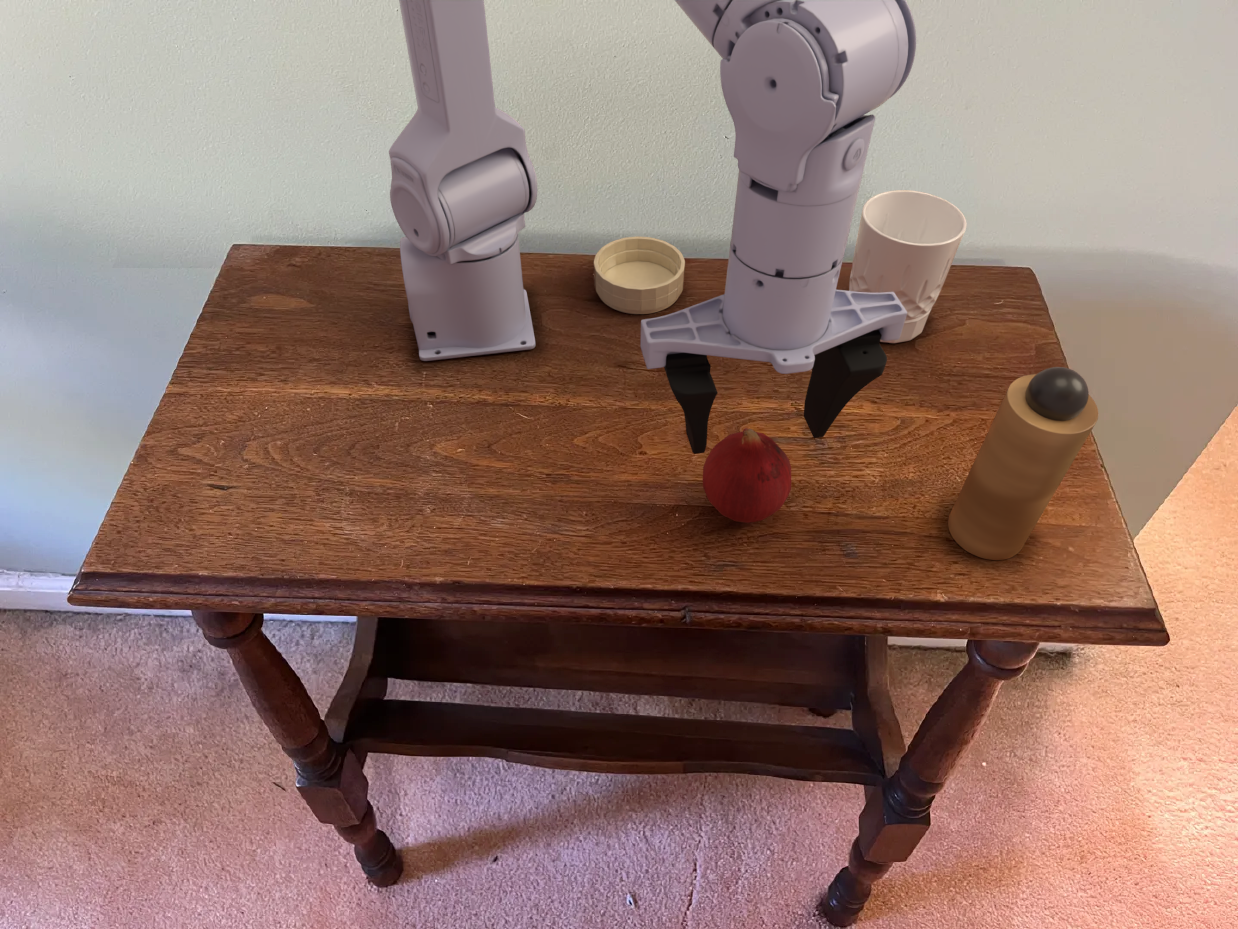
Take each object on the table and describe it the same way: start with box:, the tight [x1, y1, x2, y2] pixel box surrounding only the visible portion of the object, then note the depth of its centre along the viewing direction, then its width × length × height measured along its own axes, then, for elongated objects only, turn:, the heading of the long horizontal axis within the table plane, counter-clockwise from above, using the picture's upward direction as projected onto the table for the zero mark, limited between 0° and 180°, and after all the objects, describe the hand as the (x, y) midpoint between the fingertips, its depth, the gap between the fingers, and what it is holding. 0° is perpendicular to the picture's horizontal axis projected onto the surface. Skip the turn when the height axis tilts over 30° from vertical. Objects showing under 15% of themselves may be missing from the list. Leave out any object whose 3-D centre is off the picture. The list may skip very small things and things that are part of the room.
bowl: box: [593, 235, 686, 315], centre depth 75 cm, size 8×8×3 cm
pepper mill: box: [947, 366, 1099, 561], centre depth 53 cm, size 5×5×14 cm
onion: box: [702, 427, 792, 524], centre depth 56 cm, size 6×6×8 cm
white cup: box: [848, 189, 968, 344], centre depth 70 cm, size 8×8×10 cm
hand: (754, 434), depth 53 cm, fingers open, 7 cm apart
